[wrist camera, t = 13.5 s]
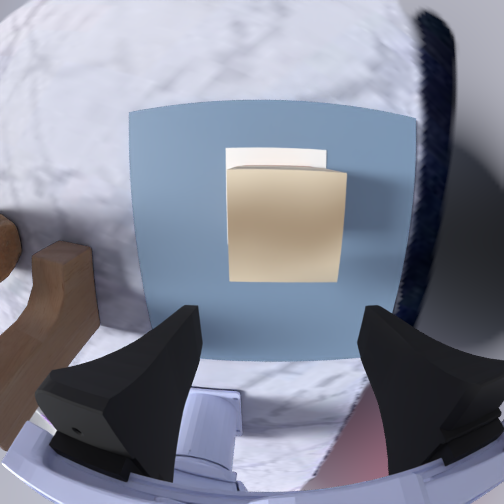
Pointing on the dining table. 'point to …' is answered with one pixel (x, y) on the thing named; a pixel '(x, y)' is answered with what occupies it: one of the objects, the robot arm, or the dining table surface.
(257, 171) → the maple block
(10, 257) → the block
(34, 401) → the wooden block
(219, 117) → the board
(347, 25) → the dining table surface
